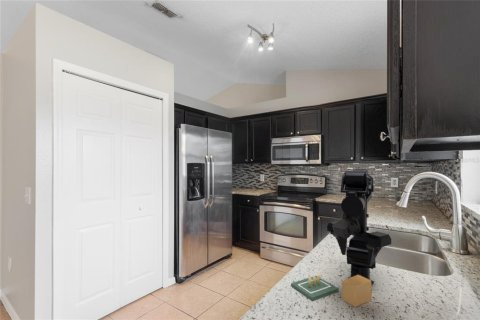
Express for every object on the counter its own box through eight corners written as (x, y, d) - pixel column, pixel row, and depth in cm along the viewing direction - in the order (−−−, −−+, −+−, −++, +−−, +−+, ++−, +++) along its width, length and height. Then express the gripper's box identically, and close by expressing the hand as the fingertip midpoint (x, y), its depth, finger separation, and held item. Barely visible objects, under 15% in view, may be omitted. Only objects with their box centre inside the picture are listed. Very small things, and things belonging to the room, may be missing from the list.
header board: (315, 278, 86) (315, 267, 87) (338, 291, 78) (338, 279, 78) (291, 286, 81) (291, 274, 81) (312, 301, 72) (312, 288, 72)
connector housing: (358, 293, 77) (358, 274, 77) (371, 299, 73) (371, 280, 73) (342, 299, 73) (342, 280, 73) (354, 307, 69) (354, 286, 69)
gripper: (315, 207, 78) (315, 254, 78) (367, 219, 61) (368, 278, 61) (337, 205, 83) (338, 248, 83) (392, 215, 67) (392, 269, 66)
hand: (356, 259), depth 73 cm, fingers open, 9 cm apart
